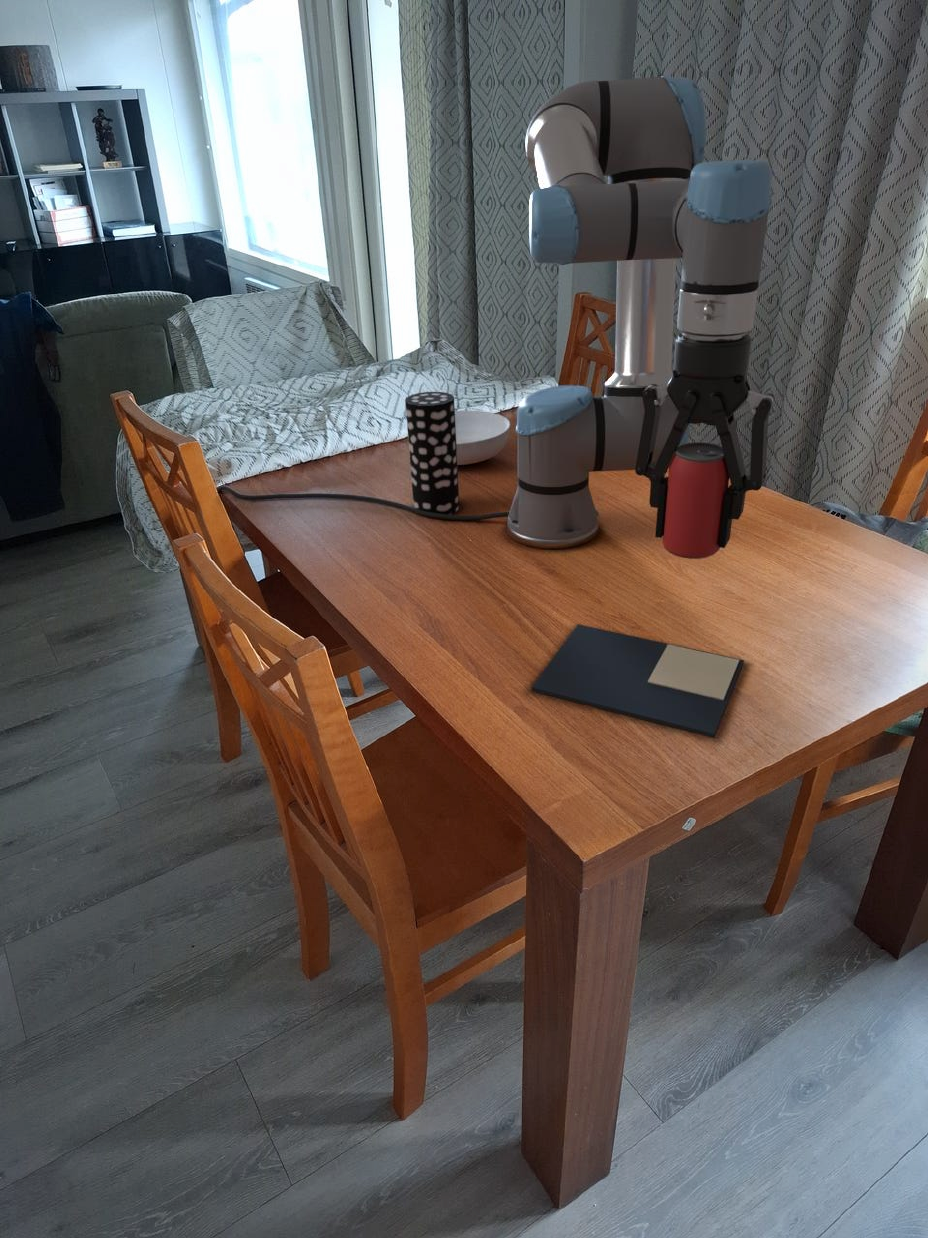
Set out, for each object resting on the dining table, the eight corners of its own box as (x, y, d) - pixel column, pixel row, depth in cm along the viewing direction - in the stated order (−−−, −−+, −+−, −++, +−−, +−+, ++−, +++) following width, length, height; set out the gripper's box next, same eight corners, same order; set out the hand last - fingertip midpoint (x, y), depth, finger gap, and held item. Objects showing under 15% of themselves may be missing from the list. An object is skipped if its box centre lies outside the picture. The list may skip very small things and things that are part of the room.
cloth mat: (531, 691, 100) (531, 685, 100) (577, 627, 112) (577, 622, 112) (714, 738, 91) (715, 732, 91) (743, 663, 103) (744, 658, 103)
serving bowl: (408, 445, 180) (405, 414, 177) (503, 437, 182) (502, 406, 178) (413, 479, 162) (411, 446, 159) (518, 471, 164) (518, 437, 160)
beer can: (709, 565, 93) (721, 464, 87) (653, 554, 96) (661, 455, 90) (727, 543, 98) (740, 445, 91) (673, 532, 101) (682, 437, 95)
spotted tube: (406, 514, 148) (396, 403, 138) (425, 496, 155) (417, 390, 144) (448, 519, 145) (442, 407, 135) (466, 501, 152) (461, 393, 141)
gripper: (610, 335, 86) (601, 537, 97) (809, 347, 77) (773, 565, 89) (632, 320, 91) (621, 513, 103) (820, 330, 83) (785, 538, 95)
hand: (692, 537), depth 96 cm, fingers closed on beer can, 6 cm apart
